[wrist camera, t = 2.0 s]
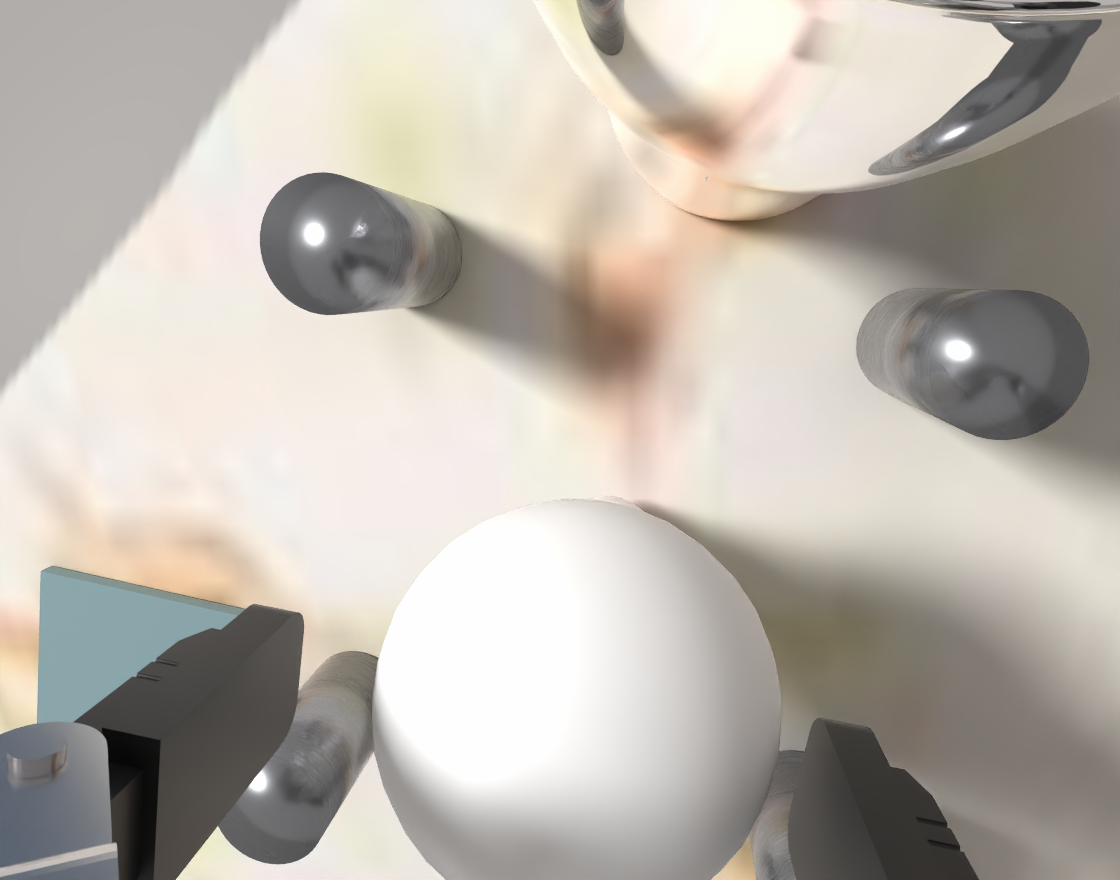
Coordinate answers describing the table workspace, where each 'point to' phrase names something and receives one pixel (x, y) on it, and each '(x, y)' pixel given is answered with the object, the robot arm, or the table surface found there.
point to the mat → (107, 636)
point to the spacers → (428, 274)
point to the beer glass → (828, 88)
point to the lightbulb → (576, 701)
